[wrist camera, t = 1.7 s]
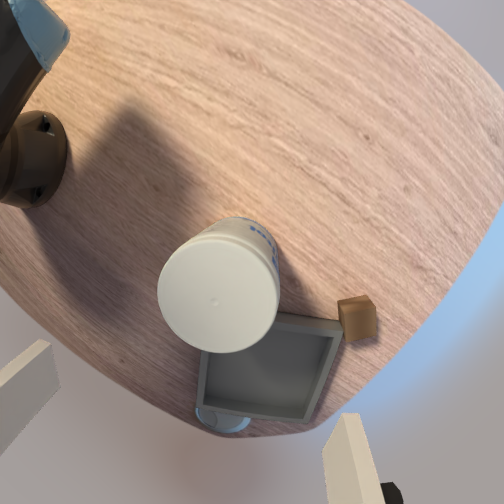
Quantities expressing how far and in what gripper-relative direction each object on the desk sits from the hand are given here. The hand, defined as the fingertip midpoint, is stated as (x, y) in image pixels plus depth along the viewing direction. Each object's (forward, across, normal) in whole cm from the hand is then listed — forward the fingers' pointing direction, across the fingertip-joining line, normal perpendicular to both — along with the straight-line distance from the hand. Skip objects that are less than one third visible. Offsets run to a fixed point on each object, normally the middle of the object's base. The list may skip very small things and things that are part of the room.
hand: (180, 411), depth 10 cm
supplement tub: (+26, 0, 0) cm, 26 cm away
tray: (+26, +5, -15) cm, 30 cm away
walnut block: (+26, +16, -5) cm, 31 cm away
